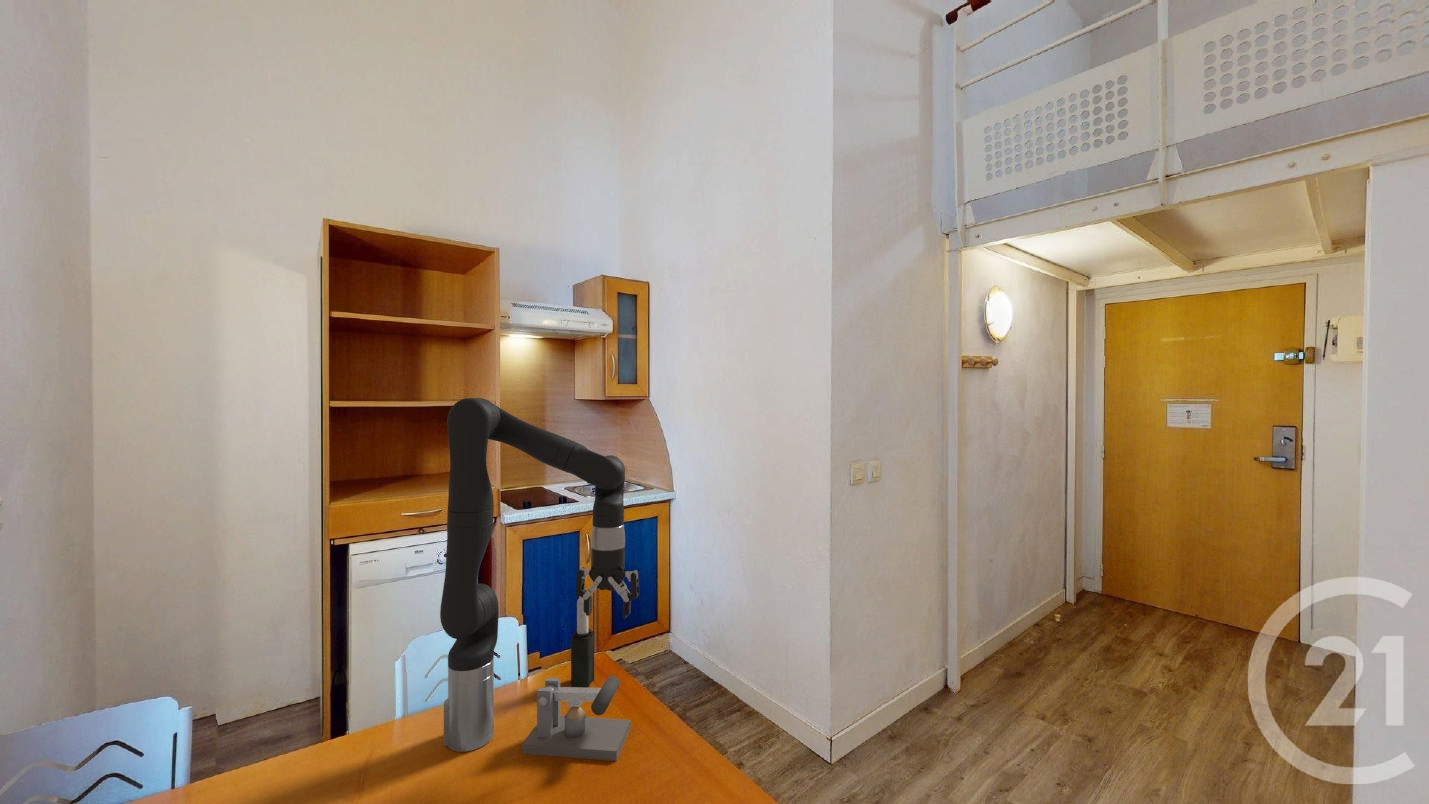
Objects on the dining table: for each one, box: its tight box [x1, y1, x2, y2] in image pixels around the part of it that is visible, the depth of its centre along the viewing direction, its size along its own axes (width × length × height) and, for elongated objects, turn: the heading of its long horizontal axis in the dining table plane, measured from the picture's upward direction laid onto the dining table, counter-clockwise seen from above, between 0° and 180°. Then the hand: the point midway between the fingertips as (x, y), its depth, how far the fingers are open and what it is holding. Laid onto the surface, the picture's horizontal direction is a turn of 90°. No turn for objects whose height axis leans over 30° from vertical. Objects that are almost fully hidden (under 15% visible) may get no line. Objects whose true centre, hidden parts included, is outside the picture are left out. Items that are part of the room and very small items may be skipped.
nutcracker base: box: [521, 677, 632, 762], centre depth 118 cm, size 20×11×12 cm, turn 84°
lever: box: [546, 675, 620, 716], centre depth 118 cm, size 16×10×4 cm, turn 84°
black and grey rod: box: [570, 596, 595, 688], centre depth 143 cm, size 5×5×25 cm
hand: (607, 615), depth 123 cm, fingers open, 8 cm apart
